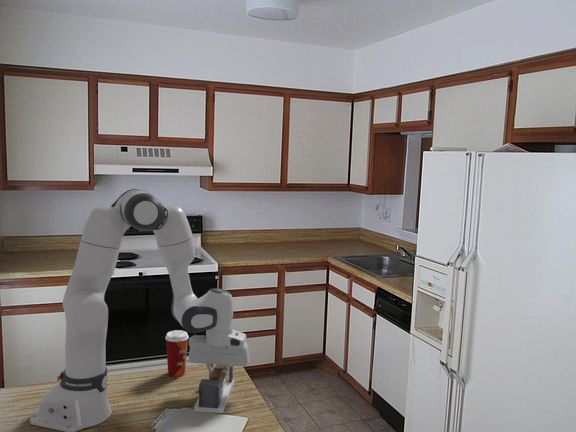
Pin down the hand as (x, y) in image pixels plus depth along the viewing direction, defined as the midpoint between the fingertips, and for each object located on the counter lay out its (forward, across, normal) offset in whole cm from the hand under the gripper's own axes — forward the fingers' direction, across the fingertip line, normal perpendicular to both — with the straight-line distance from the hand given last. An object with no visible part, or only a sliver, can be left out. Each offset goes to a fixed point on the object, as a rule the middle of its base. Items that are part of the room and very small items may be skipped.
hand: (218, 375), depth 167 cm
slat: (+2, 0, 0) cm, 2 cm away
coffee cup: (+5, -18, +10) cm, 21 cm away
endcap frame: (+5, 0, -5) cm, 7 cm away
